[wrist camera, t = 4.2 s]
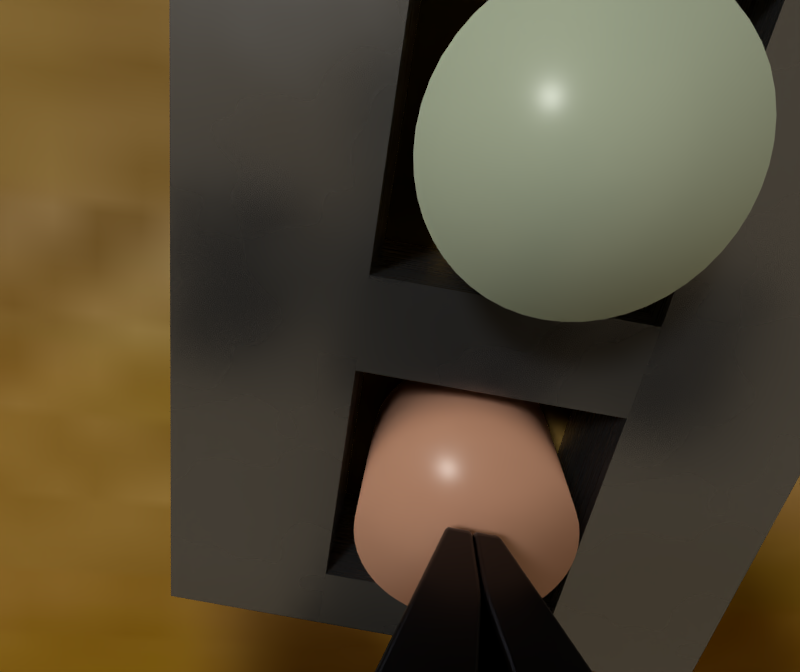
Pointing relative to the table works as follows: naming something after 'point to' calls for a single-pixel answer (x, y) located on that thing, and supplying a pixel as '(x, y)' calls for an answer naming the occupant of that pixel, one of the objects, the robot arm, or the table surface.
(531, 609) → the robot arm
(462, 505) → the salmon pink rounded lump
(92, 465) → the table surface
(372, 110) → the grey holder
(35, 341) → the table surface
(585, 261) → the egg sage
